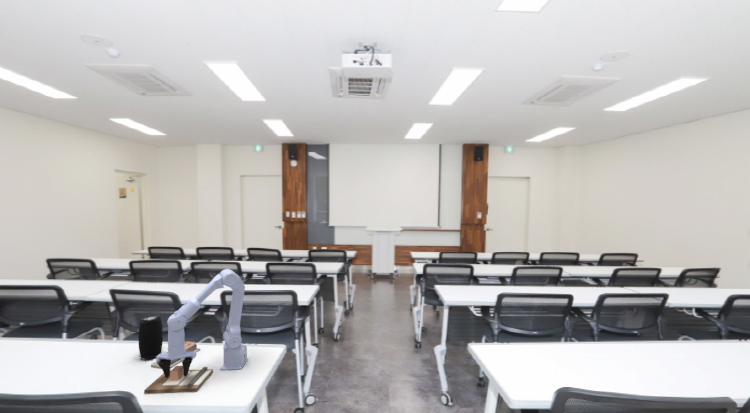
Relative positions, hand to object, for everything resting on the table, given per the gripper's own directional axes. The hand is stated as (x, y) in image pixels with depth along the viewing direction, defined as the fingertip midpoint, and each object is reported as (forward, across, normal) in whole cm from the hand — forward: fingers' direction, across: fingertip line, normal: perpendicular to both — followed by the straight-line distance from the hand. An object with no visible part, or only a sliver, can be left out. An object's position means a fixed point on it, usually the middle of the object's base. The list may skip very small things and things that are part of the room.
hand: (176, 375), depth 121 cm
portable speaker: (+3, +24, -24) cm, 34 cm away
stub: (+1, 0, 0) cm, 1 cm away
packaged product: (+4, +10, -21) cm, 23 cm away
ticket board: (+3, -2, 0) cm, 3 cm away
